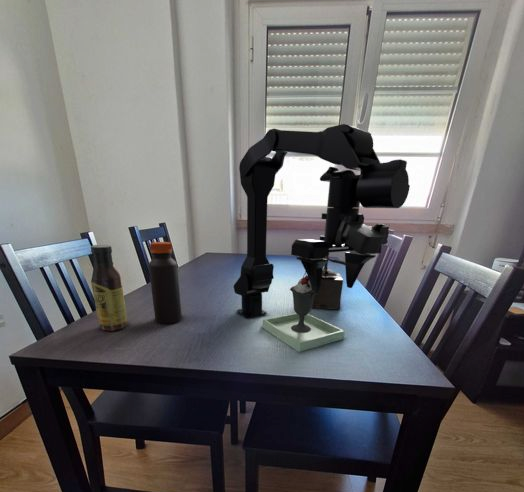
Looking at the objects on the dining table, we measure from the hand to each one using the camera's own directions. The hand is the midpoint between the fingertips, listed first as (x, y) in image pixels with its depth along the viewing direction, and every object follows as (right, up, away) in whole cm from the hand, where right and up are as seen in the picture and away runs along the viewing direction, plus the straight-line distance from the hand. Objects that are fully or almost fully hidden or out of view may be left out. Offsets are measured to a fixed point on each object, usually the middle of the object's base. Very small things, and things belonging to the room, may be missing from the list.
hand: (333, 290), depth 57 cm
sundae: (-5, -9, +13) cm, 16 cm away
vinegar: (-40, -6, +18) cm, 44 cm away
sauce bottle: (-51, -8, +13) cm, 53 cm away
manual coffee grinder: (+7, -2, +33) cm, 34 cm away
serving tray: (-5, -9, +12) cm, 16 cm away
